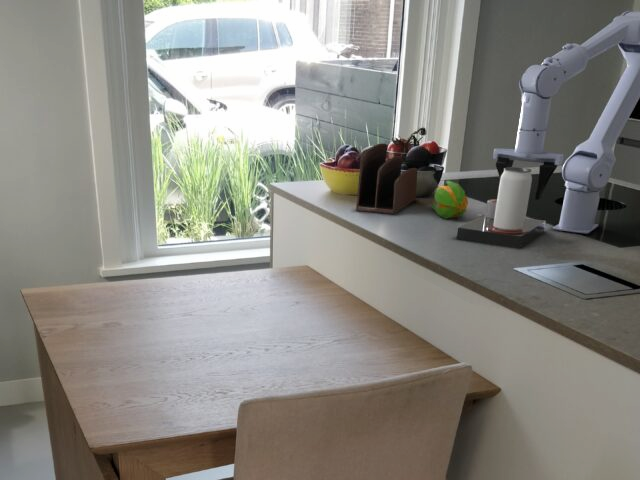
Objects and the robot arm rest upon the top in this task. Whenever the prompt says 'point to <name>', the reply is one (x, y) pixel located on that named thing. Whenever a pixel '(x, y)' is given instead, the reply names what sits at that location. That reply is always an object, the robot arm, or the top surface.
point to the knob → (491, 208)
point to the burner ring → (491, 228)
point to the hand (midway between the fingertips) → (520, 196)
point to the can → (512, 199)
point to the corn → (450, 200)
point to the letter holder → (384, 182)
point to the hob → (481, 234)
